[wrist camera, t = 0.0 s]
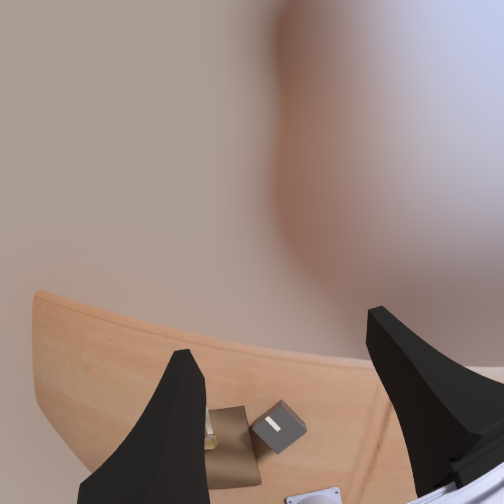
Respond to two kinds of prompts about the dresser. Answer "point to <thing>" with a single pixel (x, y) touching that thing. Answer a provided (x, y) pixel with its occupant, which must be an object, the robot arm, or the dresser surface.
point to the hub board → (229, 449)
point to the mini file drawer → (279, 427)
